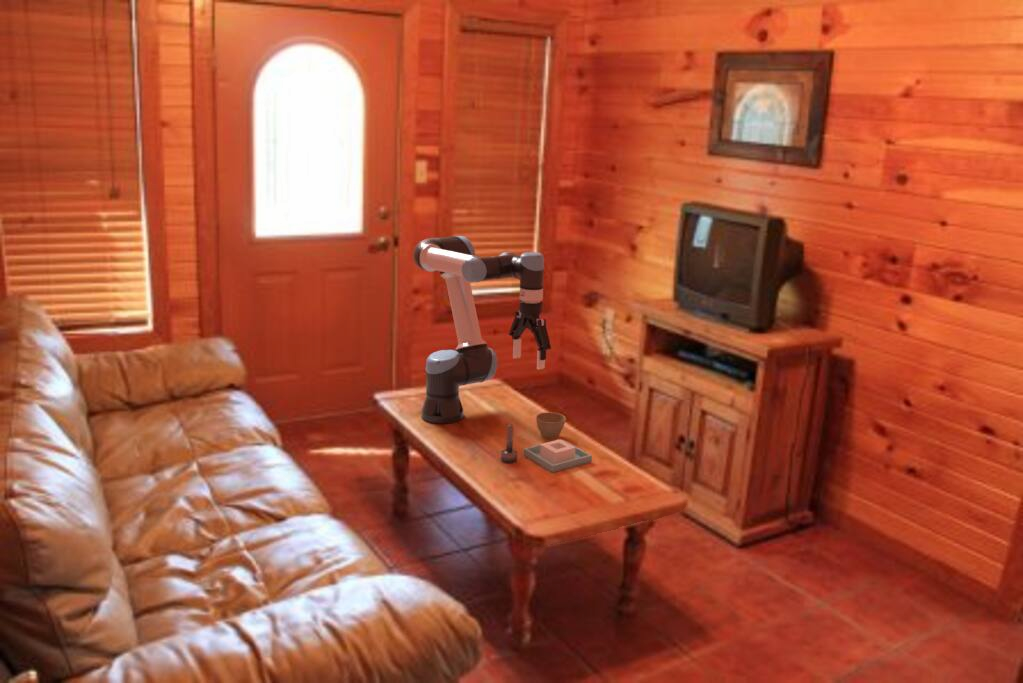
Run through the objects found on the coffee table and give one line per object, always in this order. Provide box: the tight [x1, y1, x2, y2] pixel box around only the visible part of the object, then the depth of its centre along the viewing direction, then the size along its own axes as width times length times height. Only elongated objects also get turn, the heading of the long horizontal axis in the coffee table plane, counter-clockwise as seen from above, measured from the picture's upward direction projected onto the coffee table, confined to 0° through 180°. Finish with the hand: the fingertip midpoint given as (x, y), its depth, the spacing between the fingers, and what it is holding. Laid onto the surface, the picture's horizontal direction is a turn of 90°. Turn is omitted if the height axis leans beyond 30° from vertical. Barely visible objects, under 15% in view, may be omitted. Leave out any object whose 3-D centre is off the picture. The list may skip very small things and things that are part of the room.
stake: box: [500, 423, 518, 464], centre depth 275 cm, size 5×5×12 cm
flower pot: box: [535, 411, 567, 441], centre depth 296 cm, size 10×10×7 cm
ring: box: [539, 438, 575, 464], centre depth 278 cm, size 8×8×4 cm
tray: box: [523, 438, 593, 474], centre depth 279 cm, size 16×16×2 cm
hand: (528, 363), depth 287 cm, fingers open, 13 cm apart
